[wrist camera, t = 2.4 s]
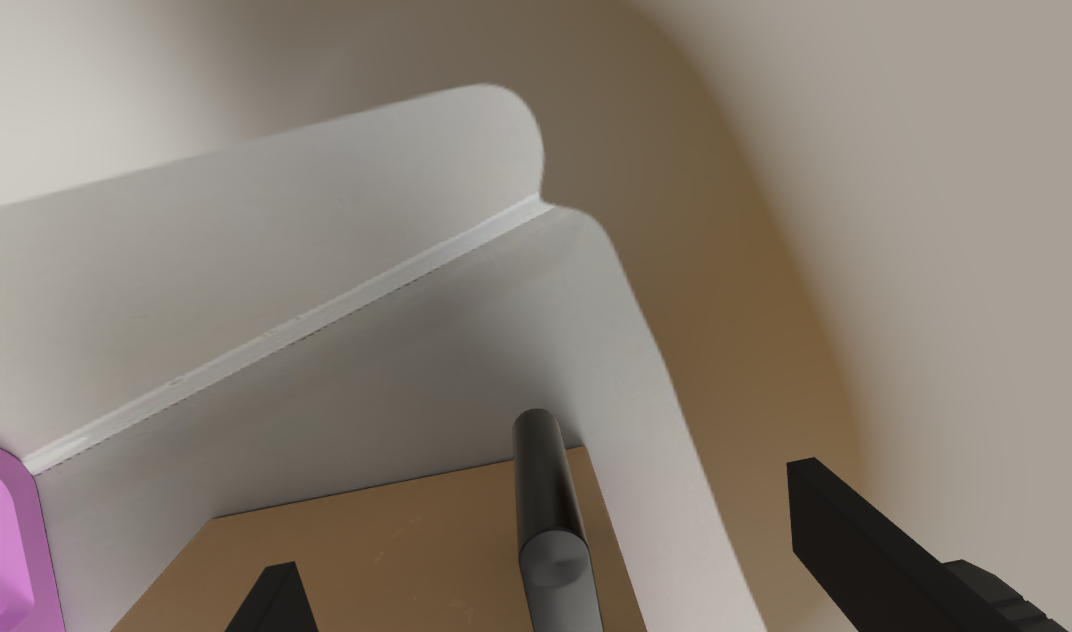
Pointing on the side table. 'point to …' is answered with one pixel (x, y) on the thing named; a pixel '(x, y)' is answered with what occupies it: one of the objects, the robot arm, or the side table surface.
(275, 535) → the cabinet door
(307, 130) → the side table surface
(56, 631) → the bracket
